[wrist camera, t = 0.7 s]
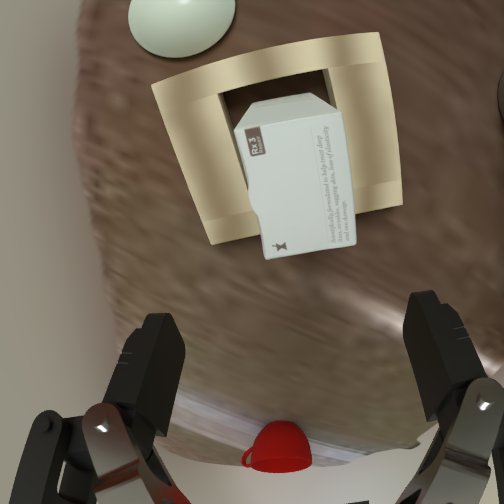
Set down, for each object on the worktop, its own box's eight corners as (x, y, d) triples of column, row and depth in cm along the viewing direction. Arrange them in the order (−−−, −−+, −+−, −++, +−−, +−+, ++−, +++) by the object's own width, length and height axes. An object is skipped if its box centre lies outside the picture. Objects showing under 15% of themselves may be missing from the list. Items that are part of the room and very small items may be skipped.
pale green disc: (218, -48, 18) (218, -50, 18) (248, 38, 23) (248, 38, 23) (120, -10, 20) (117, -11, 19) (147, 72, 25) (145, 73, 25)
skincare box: (323, 168, 30) (363, 251, 18) (264, 178, 31) (265, 268, 19) (309, 87, 26) (351, 110, 14) (245, 98, 27) (229, 132, 15)
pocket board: (367, 34, 22) (378, 32, 20) (392, 192, 31) (402, 204, 29) (161, 82, 26) (150, 85, 23) (215, 230, 35) (211, 244, 32)
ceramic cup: (226, 426, 64) (223, 465, 55) (290, 408, 58) (292, 452, 49) (259, 443, 69) (258, 477, 61) (319, 427, 63) (322, 465, 55)
